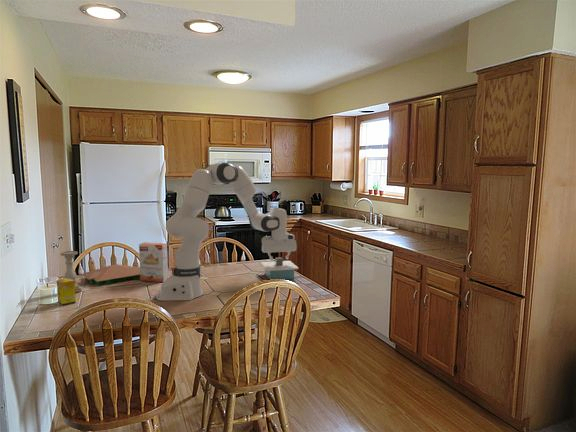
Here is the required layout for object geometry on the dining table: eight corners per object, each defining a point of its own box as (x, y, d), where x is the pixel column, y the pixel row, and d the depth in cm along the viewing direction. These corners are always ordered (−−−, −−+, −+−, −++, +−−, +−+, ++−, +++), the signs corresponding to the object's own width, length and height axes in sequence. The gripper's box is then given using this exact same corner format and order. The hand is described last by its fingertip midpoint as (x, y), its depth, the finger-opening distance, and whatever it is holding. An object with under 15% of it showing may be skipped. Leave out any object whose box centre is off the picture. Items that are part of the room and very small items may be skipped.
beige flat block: (79, 279, 232) (78, 265, 231) (137, 269, 253) (137, 256, 252) (91, 288, 215) (90, 273, 214) (152, 277, 236) (152, 263, 235)
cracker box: (139, 281, 228) (138, 243, 225) (145, 278, 233) (144, 241, 231) (163, 282, 225) (162, 244, 222) (168, 279, 231) (167, 242, 228)
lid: (267, 271, 227) (267, 262, 227) (260, 263, 245) (260, 255, 244) (298, 269, 232) (298, 260, 231) (289, 261, 249) (289, 254, 249)
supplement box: (57, 302, 191) (56, 279, 190) (71, 300, 195) (70, 277, 194) (61, 306, 187) (60, 282, 185) (75, 303, 191) (74, 280, 189)
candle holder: (59, 291, 208) (57, 252, 206) (78, 288, 214) (76, 249, 211) (63, 295, 201) (61, 255, 199) (83, 292, 207) (80, 252, 205)
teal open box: (270, 280, 230) (270, 269, 230) (264, 274, 244) (264, 264, 243) (294, 278, 234) (294, 268, 233) (287, 272, 248) (287, 262, 247)
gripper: (262, 237, 230) (262, 261, 232) (297, 236, 236) (297, 259, 237) (260, 235, 236) (260, 259, 238) (294, 234, 242) (294, 257, 243)
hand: (279, 259), depth 238 cm, fingers open, 8 cm apart
